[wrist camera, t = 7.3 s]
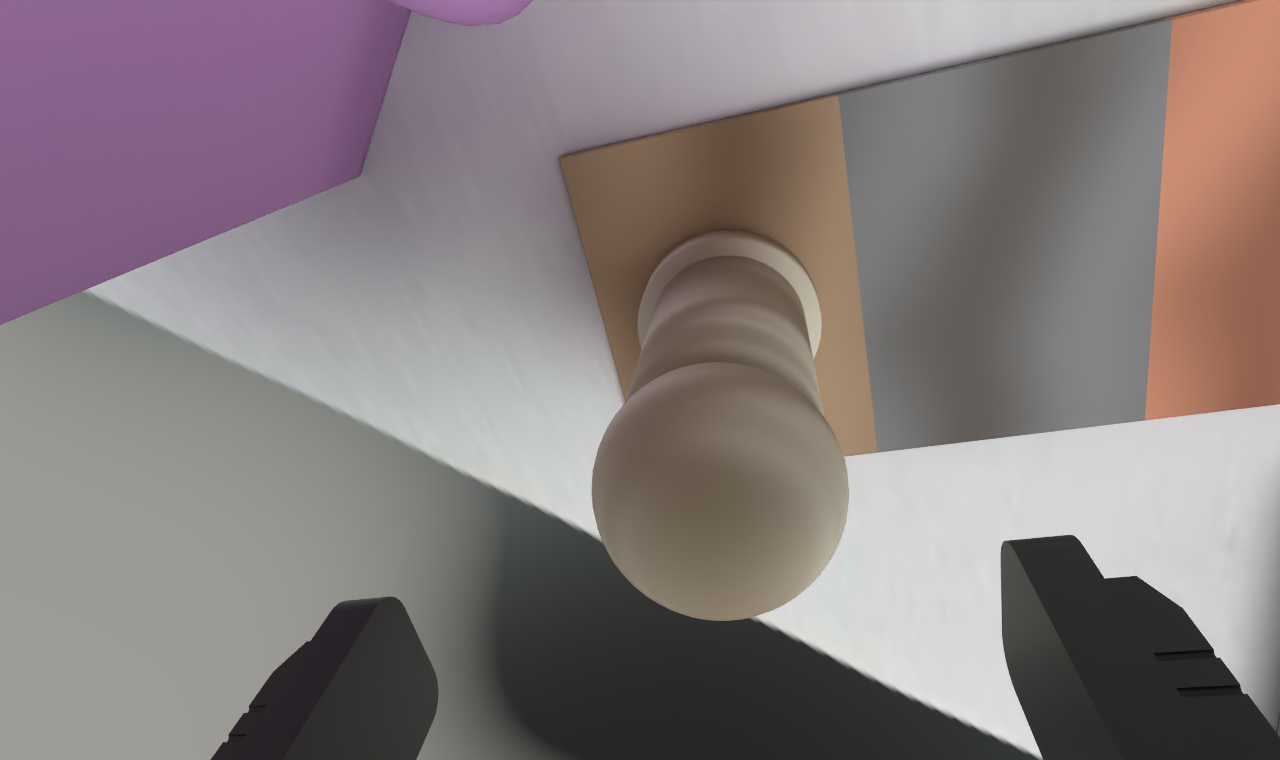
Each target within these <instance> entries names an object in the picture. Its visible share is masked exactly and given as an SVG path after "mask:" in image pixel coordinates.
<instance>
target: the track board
mask: <svg viewBox="0 0 1280 760" xmlns="http://www.w3.org/2000/svg"><path fill="white" fill-rule="evenodd" d="M559 160H560V163H561V167H562V171H563V174H564V178H565V182H566V185H567V189H568V193H569V196H570V200H571V204H572V207H573V211H574V215H575V218H576V222H577V226H578V230H579V233H580V237H581V241H582V244H583V248H584V252H585V255H586V259H587V263H588V266H589V270H590V274H591V277H592V281H593V285H594V288H595V292H596V296H597V300H598V303H599V307H600V311H601V314H602V318H603V322H604V325H605V329H606V333H607V336H608V340H609V344H610V347H611V351H612V355H613V358H614V362H615V366H616V370H617V373H618V377H619V381H620V384H621V388H622V392H623V395H624V399H625V400H626V397H627V394H628V391H629V388H630V385H631V382H632V378H633V375H634V372H635V369H636V366H637V363H638V360H639V356H640V353H641V350H642V349H641V346H640V342H639V336H638V323H637V322H638V312H639V308H640V303H641V300H642V297H643V294H644V292H645V289H646V286H647V284H648V282H649V279H650V277H651V275H652V273H653V272H654V270H655V268H656V267H657V266H658V264H659V263H660V262H661V260H662V259H663V258H664V257H665V256H666V255H667V254H668V253H669V252H670V251H671V250H673V249H674V248H675V247H677V246H678V245H679V244H681V243H683V242H685V241H686V240H688V239H690V238H692V237H695V236H697V235H700V234H703V233H707V232H710V231H716V230H724V229H737V230H745V231H751V232H755V233H758V234H762V235H764V236H766V237H769V238H771V239H773V240H775V241H777V242H778V243H780V244H782V245H783V246H784V247H786V248H787V249H788V250H790V251H791V252H792V253H793V254H794V255H795V256H796V257H797V258H798V259H799V260H800V262H801V263H802V264H803V266H804V267H805V268H806V270H807V272H808V274H809V275H810V277H811V279H812V282H813V284H814V287H815V290H816V294H817V298H818V302H819V307H820V312H821V322H822V328H821V338H820V342H819V347H818V350H817V352H816V355H815V357H814V359H813V361H814V366H815V371H816V376H817V382H818V387H819V392H820V398H821V403H822V408H823V413H824V417H825V419H826V420H827V422H828V423H829V425H830V427H831V429H832V430H833V432H834V434H835V436H836V438H837V440H838V443H839V446H840V448H841V451H842V454H843V457H844V456H852V455H861V454H869V453H877V452H886V451H894V450H902V449H910V448H919V447H927V446H935V445H944V444H952V443H960V442H969V441H977V440H985V439H994V438H1002V437H1010V436H1018V435H1027V434H1035V433H1043V432H1052V431H1060V430H1068V429H1077V428H1085V427H1093V426H1102V425H1110V424H1118V423H1126V422H1135V421H1143V420H1151V419H1160V418H1168V417H1176V416H1185V415H1193V414H1201V413H1210V412H1218V411H1226V410H1235V409H1243V408H1251V407H1259V406H1268V405H1276V404H1280V0H1243V1H1238V2H1234V3H1230V4H1225V5H1221V6H1216V7H1212V8H1208V9H1203V10H1199V11H1195V12H1190V13H1186V14H1181V15H1177V16H1173V17H1168V18H1164V19H1160V20H1155V21H1151V22H1146V23H1142V24H1138V25H1133V26H1129V27H1124V28H1120V29H1116V30H1111V31H1107V32H1103V33H1098V34H1094V35H1089V36H1085V37H1081V38H1076V39H1072V40H1068V41H1063V42H1059V43H1054V44H1050V45H1046V46H1041V47H1037V48H1032V49H1028V50H1024V51H1019V52H1015V53H1011V54H1006V55H1002V56H997V57H993V58H989V59H984V60H980V61H976V62H971V63H967V64H962V65H958V66H954V67H949V68H945V69H940V70H936V71H932V72H927V73H923V74H919V75H914V76H910V77H905V78H901V79H897V80H892V81H888V82H884V83H879V84H875V85H870V86H866V87H862V88H857V89H853V90H848V91H844V92H840V93H835V94H831V95H827V96H822V97H818V98H813V99H809V100H805V101H800V102H796V103H792V104H787V105H783V106H778V107H774V108H770V109H765V110H761V111H757V112H752V113H748V114H743V115H739V116H735V117H730V118H726V119H721V120H717V121H713V122H708V123H704V124H700V125H695V126H691V127H686V128H682V129H678V130H673V131H669V132H665V133H660V134H656V135H651V136H647V137H643V138H638V139H634V140H629V141H625V142H621V143H616V144H612V145H608V146H603V147H599V148H594V149H590V150H586V151H581V152H577V153H573V154H568V155H564V156H563V157H562V158H560V159H559Z"/></svg>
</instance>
